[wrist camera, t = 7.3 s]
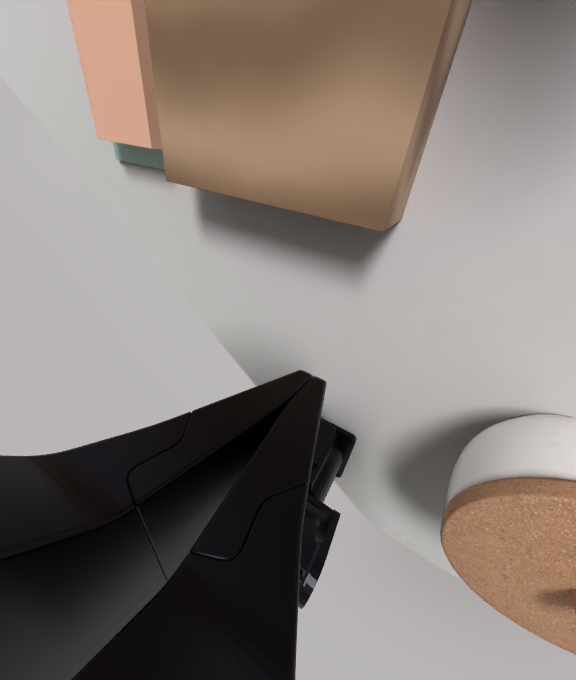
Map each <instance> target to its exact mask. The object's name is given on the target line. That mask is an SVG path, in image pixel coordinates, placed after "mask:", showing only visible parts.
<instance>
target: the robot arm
mask: <svg viewBox="0 0 576 680" xmlns="http://www.w3.org/2000/svg"><path fill="white" fill-rule="evenodd" d="M325 389H326V381H325V380H322V379H320V378H318V377H316V376H314V377H313V376H312V375H311V374H309V373H307V372H305V371H303V370H299V371H296V372H293V373H291V374H288V375H285V376H283V377H280V378H278V379H275V380H272V381H270V382H267V383H264V384H262V385H259V386H257V387H254V388H251V389H249V390H246V391H243V392H241V393H238V394H236V395H233V396H231V397H228V398H225V399H222V400H220V401H217V402H215V403H212V404H209V405H207V406H204V407H202V408H199V409H196V410H194V411H192V413H191V412H188V413H185V414H183V415H180V416H178V417H175V418H172V419H169V420H167V421H164V422H161V423H158V424H155V425H152V426H149V427H146V428H142V429H139V430H136V431H133V432H130V433H126V434H123V435H119V436H116V437H113V438H109V439H105V440H102V441H98V442H95V443H91V444H88V445H84V446H81V447H78V448H74V449H70V450H67V451H63V452H58V453H53V454H46V455H38V456H0V680H295V668H296V643H297V620H298V618H297V617H298V607H299V608H301V609H302V608H303V607H304V606H305V604H306V602H307V601H308V599H309V597H310V595H311V593H312V591H313V589H314V587H315V585H316V583H317V581H318V578H319V576H320V574H321V571H322V568H323V566H324V563H325V560H326V557H327V554H328V551H329V548H330V545H331V542H332V539H333V536H334V532H335V530H336V526H337V523H338V520H339V517H340V513H339V512H337V511H335V510H332V509H331V508H329V507H328V506H327V505H325V504H323V502H324V500H325V498H326V496H327V493H328V491H329V489H330V487H331V485H332V483H333V481H334V478H335V476H336V477H341V476H342V473H343V471H344V468H345V466H346V464H347V461H348V459H349V456H350V454H351V452H352V449H353V447H354V444H355V442H356V437H355V436H354V435H353V434H351V433H349V432H347V431H345V430H343V429H341V428H339V427H337V426H335V425H334V424H332V423H330V422H328V421H326V420H324V419H322V418H321V412H322V406H323V401H324V395H325Z"/></svg>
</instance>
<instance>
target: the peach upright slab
mask: <svg viewBox="0 0 576 680" xmlns="http://www.w3.org/2000/svg"><path fill="white" fill-rule="evenodd" d="M66 1H67V5H68V9H69V14H70V18H71V22H72V27H73V31H74V36H75V40H76V44H77V49H78V53H79V57H80V62H81V66H82V70H83V75H84V79H85V84H86V88H87V92H88V97H89V101H90V105H91V110H92V114H93V118H94V123H95V127H96V132H97V136H98V139H101V140H107V141H112V142H118V143H123V144H129V145H134V146H140V147H146V148H151V149H162V142H161V134H160V126H159V118H158V110H157V102H156V94H155V86H154V77H153V69H152V61H151V53H150V45H149V37H148V29H147V21H146V13H145V4H144V0H66Z"/></svg>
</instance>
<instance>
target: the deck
mask: <svg viewBox="0 0 576 680" xmlns="http://www.w3.org/2000/svg"><path fill="white" fill-rule="evenodd" d="M471 3H472V0H144V4H145V13H146V21H147V29H148V37H149V45H150V53H151V61H152V69H153V77H154V86H155V94H156V102H157V110H158V118H159V126H160V134H161V142H162V150H163V159H164V167H165V175H166V181H169V182H173V183H177V184H181V185H186V186H190V187H194V188H198V189H203V190H207V191H211V192H215V193H220V194H224V195H228V196H232V197H237V198H241V199H245V200H249V201H254V202H258V203H262V204H266V205H271V206H275V207H279V208H283V209H288V210H292V211H296V212H300V213H305V214H309V215H313V216H317V217H322V218H326V219H330V220H334V221H339V222H343V223H347V224H351V225H356V226H360V227H364V228H368V229H373V230H377V231H381V232H384V231H385V230H387V229H388V228H390V227H391V226H393V225H394V224H396V223H397V222H399V221H400V220H401V219H402V216H403V213H404V210H405V206H406V203H407V200H408V197H409V194H410V191H411V188H412V185H413V182H414V179H415V176H416V172H417V169H418V166H419V163H420V160H421V157H422V154H423V151H424V148H425V145H426V142H427V139H428V135H429V132H430V129H431V126H432V123H433V120H434V117H435V114H436V111H437V108H438V105H439V102H440V98H441V95H442V92H443V89H444V86H445V83H446V80H447V77H448V74H449V71H450V68H451V65H452V61H453V58H454V55H455V52H456V49H457V46H458V43H459V40H460V37H461V34H462V31H463V27H464V24H465V21H466V18H467V15H468V12H469V9H470V6H471Z"/></svg>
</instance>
